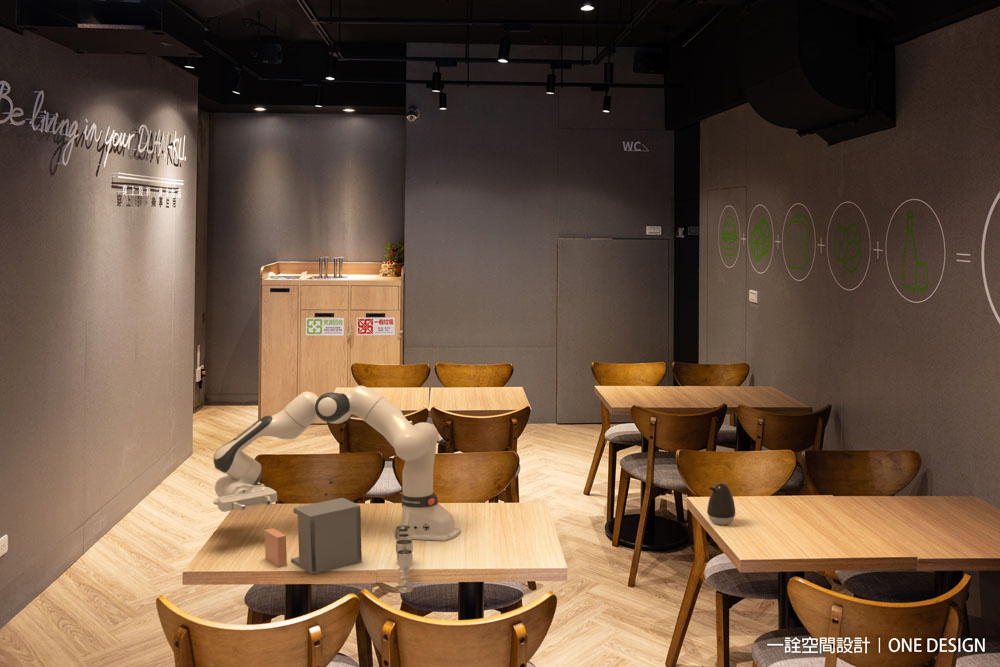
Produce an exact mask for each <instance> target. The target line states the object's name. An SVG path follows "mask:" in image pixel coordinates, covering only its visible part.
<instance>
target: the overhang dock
mask: <svg viewBox="0 0 1000 667" xmlns="http://www.w3.org/2000/svg"><path fill="white" fill-rule="evenodd" d="M361 509H362V508H361V505H360V504H358V503H355V502H353V501H351V500H349V499H348V498H347V499H346V498H345V497H339V498H334V499H329V500H326V501H325V500H324V501H319V502H316V503H311V504H306V505H301V506H300V505H299V506H296V507H293V513H294V514H296V515H297V528H298V529H297V531H298V532H297V533H298V534H297V535H298V556H297V557H293V558H291V559H290V561H291V562H290V563H293V564H295V565H296V566H297V567H299V568H300V569H302V570H304V571H306V572H307V573H309V574H310V575H316V574H320V573H323V572H327V571H331V570H335V569H339V568H343V567H346V566H347V567H348V566H350V565H355V564H359V563H362V562H363V559H362V558H363V556H362V519H361V518H362V517H361V516H362V515H361V511H362V510H361Z"/></svg>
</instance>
